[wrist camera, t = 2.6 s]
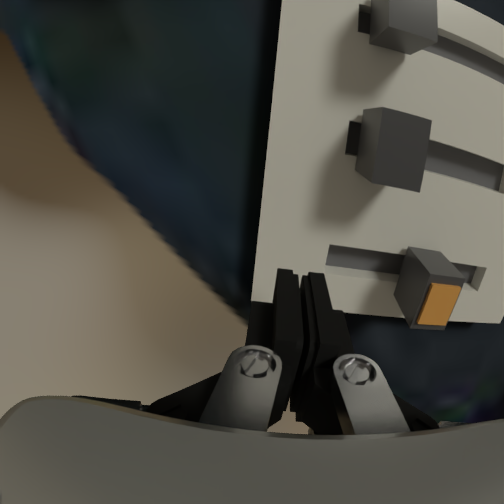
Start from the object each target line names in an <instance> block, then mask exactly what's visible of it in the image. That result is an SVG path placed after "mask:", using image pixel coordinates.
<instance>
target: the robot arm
mask: <svg viewBox="0 0 504 504" xmlns="http://www.w3.org/2000/svg"><path fill="white" fill-rule="evenodd" d="M289 398H290V412H296V421H298V422H303V423H305V424H306V425H307V426H308V427H309V430H308V435H307V434H289V433H275V432H267V429H268V428H269V427H270V426H272V425H273V424H275V423H276V422H278V421H279V420H281V417H282V414H283V411H286V408H287V405H288V401H289ZM0 504H504V419H498V420H492V421H485V422H479V423H459V422H447V421H440V423H439V424H437V422H436V421H435V420H434V419H432V418H431V417H430V416H428V415H427V414H425V413H423V412H422V411H420V410H418V409H417V408H415V407H414V406H412V405H410V404H409V403H407V402H406V401H404V400H403V399H401V398H399V397H398V396H396V395H395V394H393V393H392V391H391V389H390V387H389V385H388V383H387V381H386V379H385V377H384V375H383V373H382V371H381V369H380V368H379V366H378V365H377V364H376V363H375V362H374V361H373V360H371V359H369V358H367V357H365V356H362V355H359V354H354V350H353V346H352V342H351V338H350V334H349V331H348V327H347V323H346V319H345V316H344V313H343V311H342V310H334V309H333V308H332V304H331V300H330V295H329V291H328V287H327V283H326V279H325V275H324V273H316V272H308V275H302V278H301V284H300V288H299V277H298V274H293V270H290V269H282V268H278V269H277V274H276V281H275V288H274V295H273V301H272V303H268V302H259V301H252V305H251V312H250V318H249V324H248V330H247V337H246V343H245V346H243V347H240V348H238V349H236V350H234V351H233V352H232V353H231V355H230V356H229V358H228V360H227V362H226V364H225V366H224V369H223V371H222V372H220V373H218V374H216V375H214V376H211V377H209V378H207V379H205V380H203V381H200V382H198V383H196V384H194V385H191V386H189V387H187V388H185V389H182V390H180V391H178V392H175V393H173V394H171V395H168V396H166V397H163V398H161V399H158V400H157V401H155V402H153V403H152V404H151V405H141V402H140V401H130V400H117V399H106V398H96V397H88V396H71V397H70V396H38V397H32V398H28V399H25V400H22V401H21V402H19V403H17V404H16V405H14V406H13V407H12V408H10V409H9V410H8V411H7V412H6V413H5V414H4V415H3V417H2V418H1V419H0Z"/></svg>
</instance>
